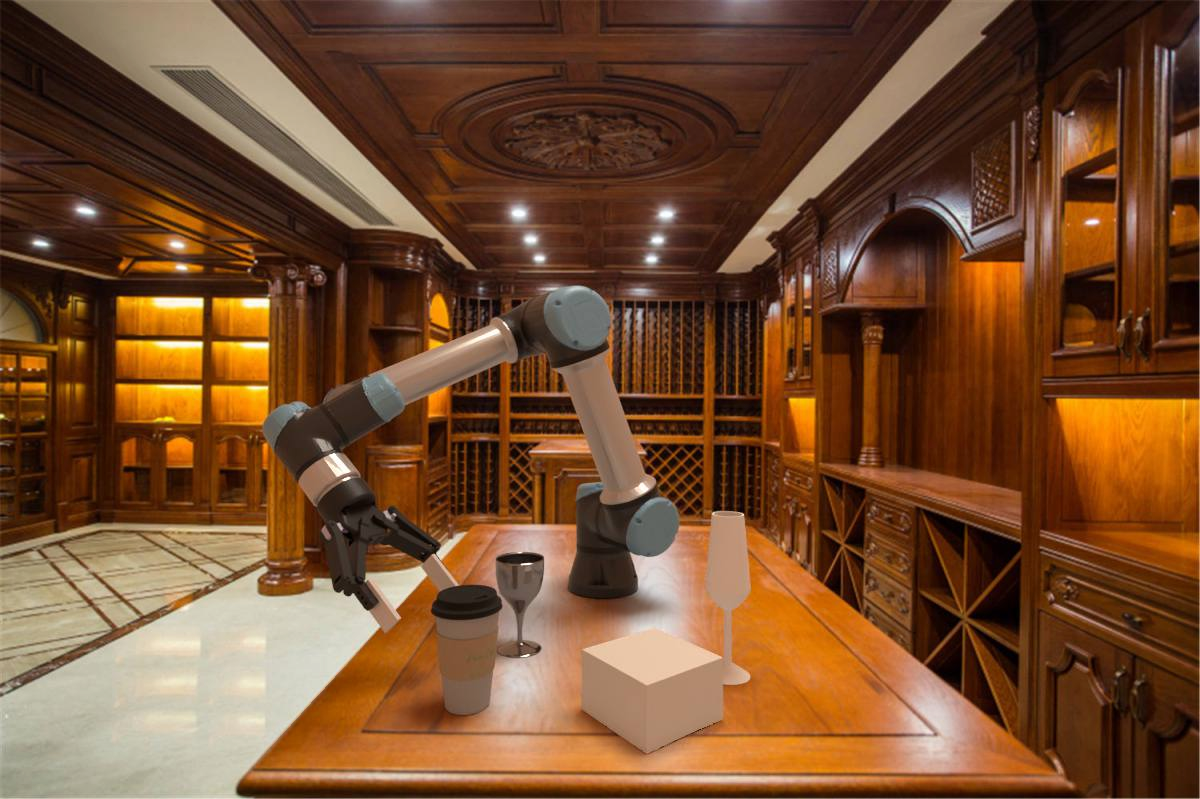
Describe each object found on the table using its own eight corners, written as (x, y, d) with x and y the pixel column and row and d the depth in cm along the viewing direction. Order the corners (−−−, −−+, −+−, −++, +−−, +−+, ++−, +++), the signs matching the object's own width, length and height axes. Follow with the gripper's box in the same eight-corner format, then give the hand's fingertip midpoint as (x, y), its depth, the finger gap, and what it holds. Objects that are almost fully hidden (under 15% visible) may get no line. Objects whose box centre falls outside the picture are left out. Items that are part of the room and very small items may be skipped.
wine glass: (551, 643, 106) (551, 554, 106) (531, 661, 98) (531, 566, 98) (509, 637, 108) (509, 550, 108) (486, 654, 101) (486, 561, 101)
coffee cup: (486, 725, 79) (486, 606, 79) (417, 718, 81) (417, 601, 81) (512, 691, 88) (512, 584, 88) (449, 685, 90) (449, 580, 90)
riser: (581, 709, 83) (581, 649, 83) (654, 682, 91) (655, 627, 91) (646, 754, 73) (646, 685, 73) (723, 719, 81) (723, 657, 81)
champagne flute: (741, 689, 89) (742, 520, 89) (697, 677, 93) (697, 515, 93) (756, 671, 95) (757, 512, 95) (714, 661, 98) (715, 508, 98)
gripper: (381, 497, 104) (459, 598, 98) (250, 525, 80) (343, 660, 75) (408, 466, 102) (489, 568, 97) (282, 486, 78) (380, 622, 73)
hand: (425, 609), depth 86 cm, fingers open, 13 cm apart
